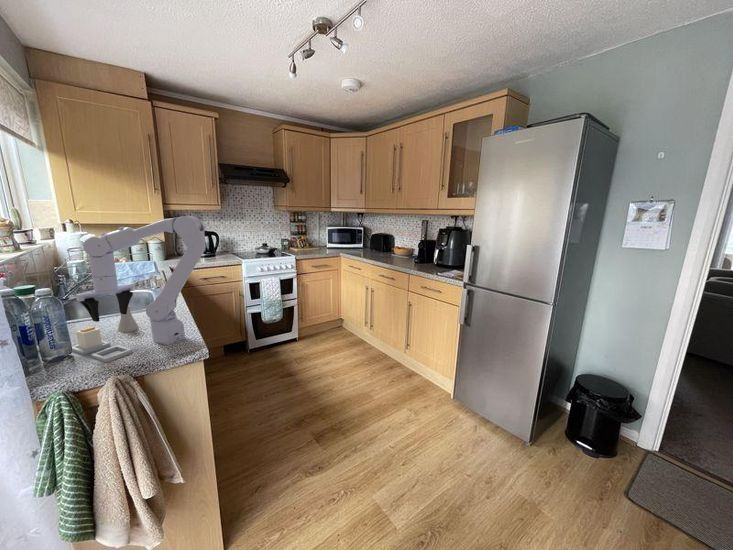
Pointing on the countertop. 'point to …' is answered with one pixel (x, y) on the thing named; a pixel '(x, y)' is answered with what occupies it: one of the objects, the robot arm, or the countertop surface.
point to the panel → (102, 352)
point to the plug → (89, 338)
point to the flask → (127, 322)
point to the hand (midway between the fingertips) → (110, 317)
